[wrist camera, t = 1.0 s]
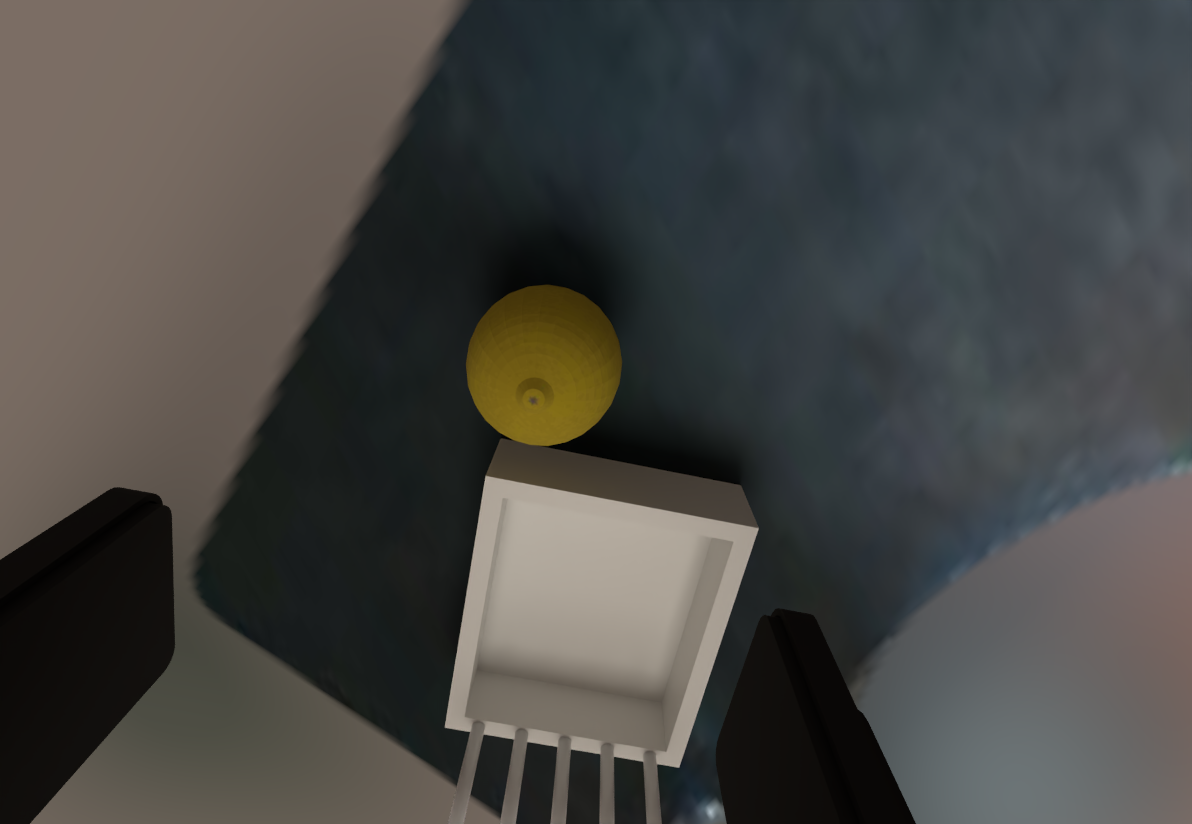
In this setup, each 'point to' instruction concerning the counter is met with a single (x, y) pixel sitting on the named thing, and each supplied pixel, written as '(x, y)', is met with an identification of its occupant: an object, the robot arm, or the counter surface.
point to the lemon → (543, 365)
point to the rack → (593, 614)
